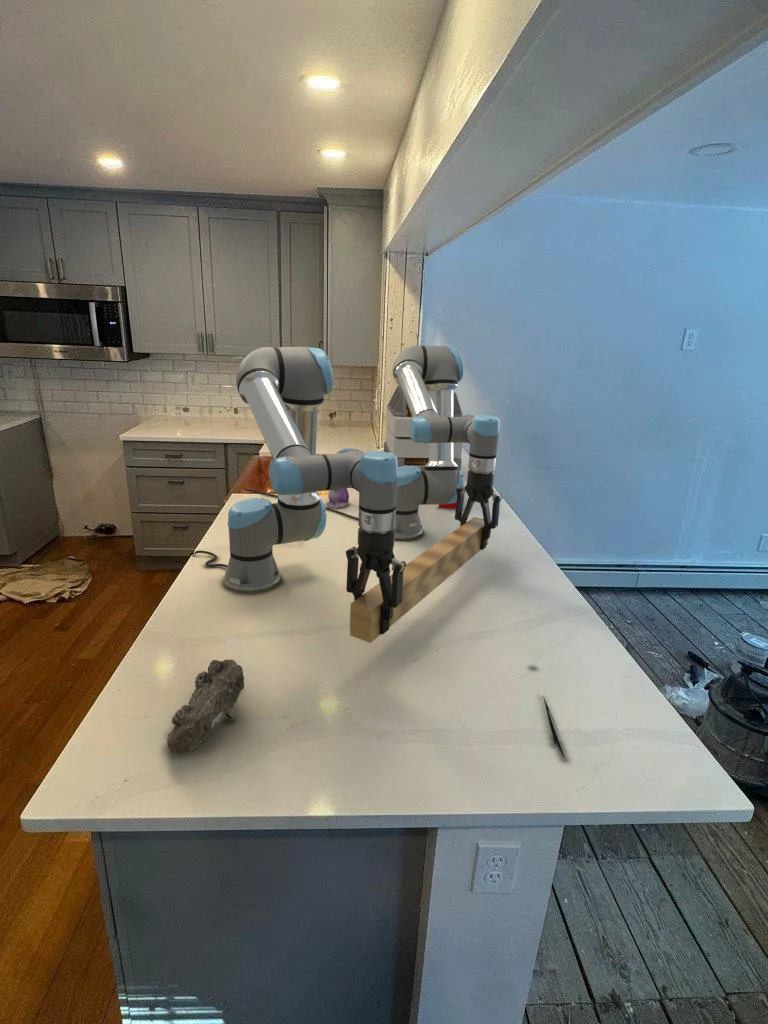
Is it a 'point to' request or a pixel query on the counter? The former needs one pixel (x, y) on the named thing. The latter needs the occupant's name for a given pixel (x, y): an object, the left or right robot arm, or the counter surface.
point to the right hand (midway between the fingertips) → (473, 545)
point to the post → (418, 579)
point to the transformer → (400, 435)
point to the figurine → (338, 498)
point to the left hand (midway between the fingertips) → (372, 627)
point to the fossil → (206, 705)
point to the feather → (553, 727)
